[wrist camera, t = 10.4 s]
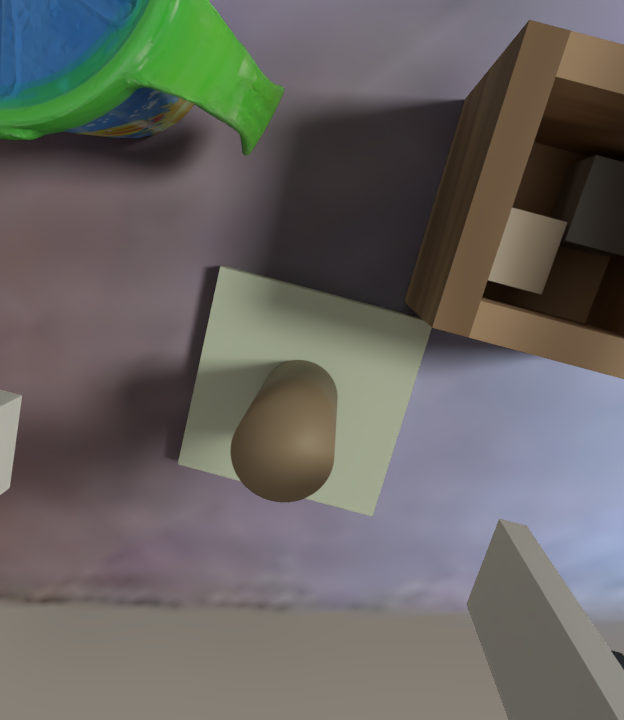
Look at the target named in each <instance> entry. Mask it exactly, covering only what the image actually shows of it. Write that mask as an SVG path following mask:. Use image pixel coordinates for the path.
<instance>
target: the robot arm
mask: <svg viewBox="0 0 624 720" xmlns="http://www.w3.org/2000/svg"><path fill="white" fill-rule="evenodd" d="M21 400H22V395H19V394H15V393H11V392H7V391H3V390H0V495H1V494H2V493H4V492H5V491H6V490H7V489H9V488H10V482H11V474H12V467H13V459H14V452H15V445H16V437H17V430H18V422H19V415H20V408H21ZM467 607H468V610H469V612H470V615H471V618H472V621H473V623H474V626H475V629H476V631H477V634H478V637H479V640H480V642H481V645H482V648H483V651H484V653H485V656H486V659H487V662H488V664H489V667H490V670H491V673H492V675H493V678H494V681H495V684H496V686H497V689H498V692H499V694H500V697H501V700H502V703H503V705H504V708H505V711H506V714H507V716H508V719H509V720H624V656H623V655H622V654H621V653H619V652H615V651H611V650H610V649H609V647H608V646H607V644H606V643H605V641H604V640H603V638H602V637H601V635H600V634H599V633H598V631H597V629H596V628H595V626H594V625H593V623H592V622H591V620H590V619H589V618H588V616H587V615H586V613H585V612H584V610H583V609H582V607H581V606H580V604H579V603H578V601H577V600H576V598H575V597H574V595H573V594H572V592H571V591H570V589H569V588H568V586H567V585H566V583H565V582H564V580H563V579H562V578H561V576H560V575H559V573H558V572H557V570H556V569H555V567H554V566H553V564H552V563H551V561H550V560H549V558H548V557H547V555H546V554H545V552H544V551H543V549H542V548H541V546H540V545H539V543H538V542H537V540H536V539H535V537H534V536H533V535H532V533H531V532H530V530H529V529H528V527H527V526H525V525H521V524H518V523H514V522H510V521H506V520H502V519H499V521H498V523H497V526H496V529H495V531H494V534H493V537H492V539H491V542H490V544H489V547H488V550H487V552H486V555H485V558H484V560H483V563H482V565H481V568H480V571H479V573H478V576H477V578H476V581H475V584H474V586H473V589H472V592H471V594H470V597H469V599H468V602H467Z"/></svg>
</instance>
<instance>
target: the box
mask: <svg viewBox="0 0 624 720" xmlns="http://www.w3.org/2000/svg"><path fill="white" fill-rule="evenodd" d="M404 302H405V303H406V304H407V305H408V306H409V307H410V308H411V309H412V310H414V311H415V312H416V313H417V314H418V315H419V316H420V317H421V318H422V319H423V320H424V321H425V322H427V323H428V324H429V325H430V326H431V327H432V328H435V329H439V330H443V331H446V332H450V333H454V334H458V335H461V336H465V337H469V338H472V339H476V340H480V341H484V342H487V343H491V344H495V345H499V346H502V347H506V348H510V349H514V350H517V351H521V352H525V353H529V354H532V355H536V356H540V357H544V358H547V359H551V360H555V361H558V362H562V363H566V364H570V365H573V366H577V367H581V368H585V369H588V370H592V371H596V372H600V373H603V374H607V375H611V376H615V377H618V378H622V379H624V45H623V44H619V43H615V42H612V41H608V40H604V39H600V38H596V37H593V36H589V35H585V34H581V33H577V32H574V31H570V30H566V29H562V28H559V27H555V26H551V25H547V24H543V23H540V22H536V21H532V20H529V21H528V22H527V24H526V25H525V26H524V27H523V28H522V30H521V31H520V32H519V33H518V35H517V36H516V37H515V38H514V40H513V41H512V42H511V43H510V44H509V46H508V47H507V48H506V49H505V51H504V52H503V53H502V54H501V56H500V57H499V58H498V59H497V60H496V62H495V63H494V64H493V65H492V67H491V68H490V69H489V70H488V72H487V73H486V74H485V75H484V76H483V78H482V79H481V80H480V81H479V83H478V84H477V85H476V86H475V88H474V89H473V90H472V91H471V93H470V94H469V95H468V96H467V97H466V99H465V101H464V105H463V108H462V111H461V115H460V118H459V121H458V125H457V128H456V131H455V135H454V138H453V141H452V145H451V148H450V151H449V155H448V158H447V161H446V165H445V168H444V171H443V175H442V178H441V181H440V184H439V188H438V191H437V194H436V198H435V201H434V204H433V208H432V211H431V214H430V218H429V221H428V224H427V228H426V231H425V234H424V238H423V241H422V244H421V248H420V251H419V254H418V258H417V261H416V264H415V268H414V271H413V274H412V278H411V281H410V284H409V288H408V291H407V294H406V298H405V301H404Z"/></svg>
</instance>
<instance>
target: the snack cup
mask: <svg viewBox="0 0 624 720" xmlns="http://www.w3.org/2000/svg"><path fill="white" fill-rule="evenodd" d="M283 93H284V88H283V87H282V86H278V85H276V84H274V83H272V82H271V81H270V80H269V79H268V78H267V77H266V76H265V75H264V74H263V73H262V71H261V70H260V69H259V68H258V66H257V65H256V63H255V62H254V60H253V58H252V57H251V55H250V54H249V53H248V52H247V50H246V48H245V47H244V46H243V45H242V44H241V43H240V42H239V41H238V40H237V38H236V37H235V35H234V34H233V32H232V31H231V30H230V28H229V27H228V26H227V24H226V23H225V22H224V20H223V19H222V18H221V16H220V15H219V13H218V12H217V10H216V9H215V8H214V7H213V6H212V4H211V3H210V2H209V0H0V139H7V140H32V139H36V138H39V137H41V136H43V135H46V134H52V133H59V132H67V133H75V134H84V135H94V136H105V137H111V138H142V137H144V136H150V135H154V134H156V133H159V132H161V131H164V130H165V129H167V128H169V127H170V126H172V125H174V124H176V123H177V122H178V121H180V120H181V119H182V118H183V117H184V116H185V115H186V114H187V113H188V112H189V110H190V109H191V108H192V107H193V106H194V105H197V106H198V107H199V108H201V109H202V110H204V111H206V112H207V113H209V114H210V115H212V116H214V117H215V118H217V119H218V120H220V121H222V122H224V123H226V124H227V125H228V126H230V127H232V128H233V129H234V130H236V131H237V132H238V133H239V134H240V137H241V143H242V152H243V154H244V155H246V156H247V155H249V154H250V153H251V151H252V150H253V149H254V147H255V146H256V144H257V142H258V141H259V139H260V137H261V136H262V134H263V132H264V130H265V129H266V127H267V125H268V123H269V122H270V120H271V118H272V116H273V114H274V112H275V110H276V108H277V106H278V104H279V102H280V100H281V97H282V95H283Z"/></svg>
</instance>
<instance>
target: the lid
mask: <svg viewBox="0 0 624 720" xmlns="http://www.w3.org/2000/svg"><path fill="white" fill-rule="evenodd" d="M431 329H432V327H431V326H430V325H429V324H428V323H427V322H425V321H424V320H423V319H422V318H420V317H416V316H412V315H408V314H404V313H401V312H397V311H393V310H389V309H386V308H382V307H378V306H374V305H371V304H367V303H363V302H359V301H356V300H352V299H348V298H344V297H341V296H337V295H333V294H329V293H325V292H322V291H318V290H314V289H310V288H307V287H303V286H299V285H295V284H292V283H288V282H284V281H280V280H277V279H273V278H269V277H265V276H262V275H258V274H254V273H250V272H246V271H243V270H239V269H235V268H231V267H228V266H220V270H219V275H218V279H217V284H216V289H215V293H214V298H213V303H212V307H211V312H210V317H209V321H208V326H207V331H206V335H205V340H204V344H203V349H202V354H201V358H200V363H199V368H198V372H197V377H196V382H195V386H194V391H193V396H192V400H191V405H190V410H189V414H188V419H187V424H186V428H185V433H184V438H183V442H182V447H181V452H180V456H179V461H178V464H179V465H183V466H186V467H190V468H194V469H197V470H201V471H205V472H209V473H212V474H216V475H220V476H224V477H227V478H231V479H235V480H238V481H241V482H242V483H243V484H244V485H245V486H246V487H247V488H248V489H249V490H250V491H252V492H253V493H255V494H256V495H258V496H260V497H262V498H264V499H267V500H270V501H275V502H293V501H298V500H301V499H304V498H305V499H309V500H313V501H317V502H320V503H324V504H328V505H332V506H335V507H339V508H343V509H346V510H350V511H354V512H358V513H361V514H365V515H369V516H373V513H374V510H375V507H376V504H377V500H378V497H379V494H380V491H381V488H382V485H383V481H384V478H385V475H386V472H387V469H388V465H389V462H390V459H391V456H392V453H393V450H394V446H395V443H396V440H397V437H398V434H399V431H400V427H401V424H402V421H403V418H404V415H405V411H406V408H407V405H408V402H409V399H410V396H411V392H412V389H413V386H414V383H415V380H416V376H417V373H418V370H419V367H420V364H421V361H422V357H423V354H424V351H425V348H426V345H427V342H428V338H429V335H430V332H431Z"/></svg>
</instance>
